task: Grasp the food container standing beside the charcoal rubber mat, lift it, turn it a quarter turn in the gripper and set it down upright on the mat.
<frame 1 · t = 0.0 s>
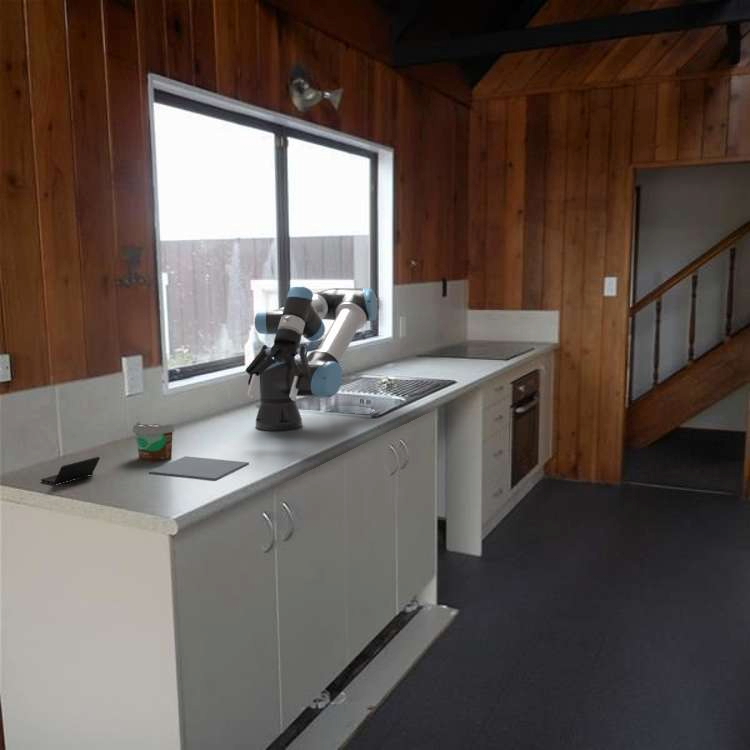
hand: (270, 397, 212), 15 cm above the worktop, tool tilted 35°, fingers open, 13 cm apart
mat: (199, 468, 195), on the worktop
food container: (150, 460, 204), on the worktop
handheld gaming console: (71, 481, 186), on the worktop
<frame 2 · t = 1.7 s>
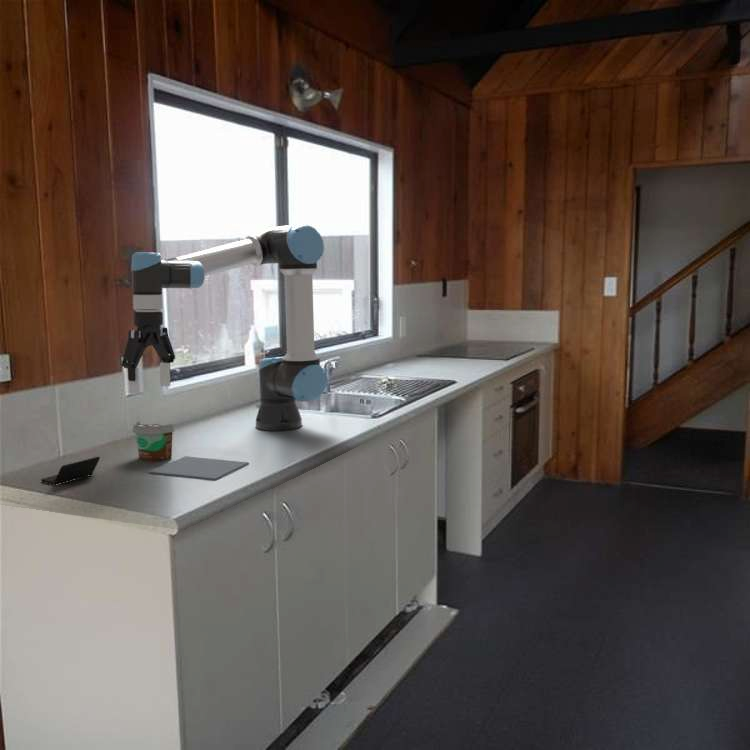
hand: (150, 389, 201), 20 cm above the worktop, tool pointing down, fingers open, 13 cm apart
nothing on the worktop moved.
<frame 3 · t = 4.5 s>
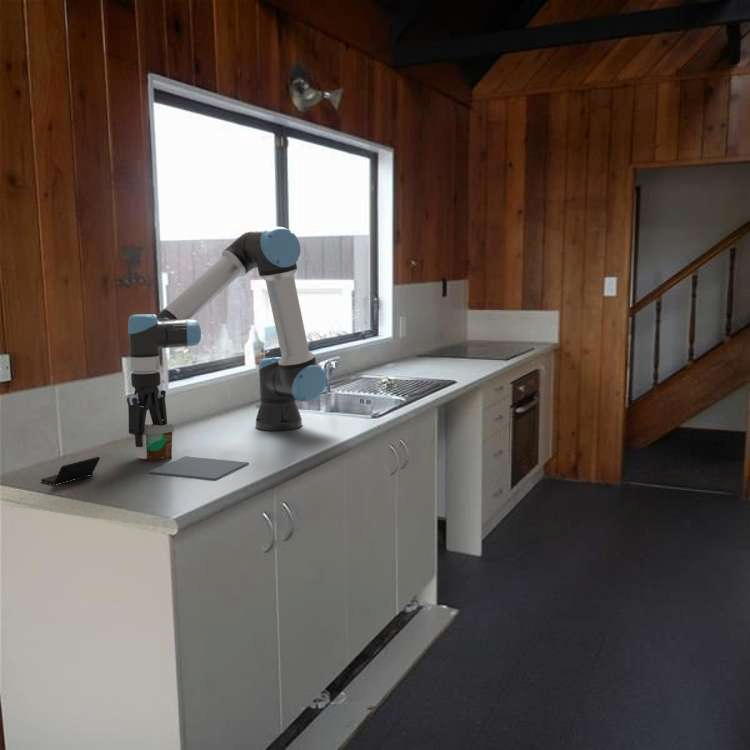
hand: (150, 454, 204), 1 cm above the worktop, tool pointing down, fingers closed on food container, 6 cm apart
food container: (150, 460, 204), on the worktop, touching gripper
everything else where it was.
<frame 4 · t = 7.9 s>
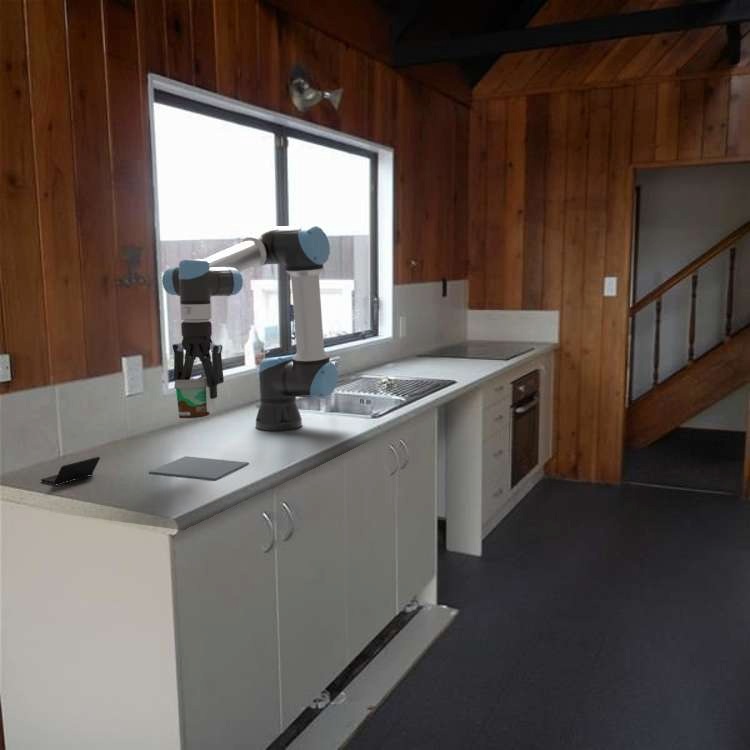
hand: (199, 410, 192), 16 cm above the worktop, tool pointing down, fingers closed on food container, 6 cm apart
food container: (200, 416, 192), point 14 cm above the worktop, touching gripper
everything else where it was.
when the fingers open (2 cm above the worktop, at t = 11.2 s): food container stays where it is, resting on mat.
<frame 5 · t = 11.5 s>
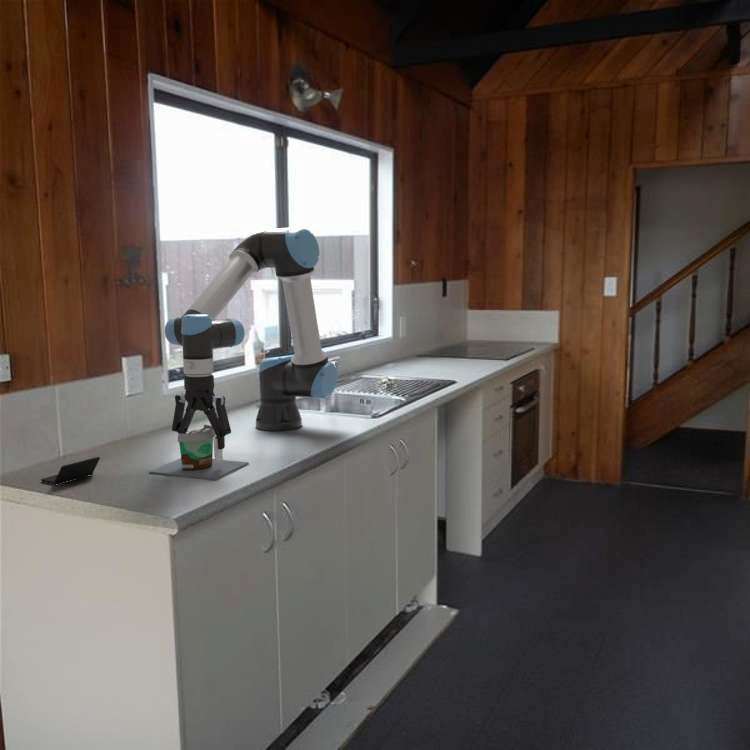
hand: (202, 459, 194), 3 cm above the worktop, tool pointing down, fingers open, 9 cm apart
food container: (203, 467, 194), resting on mat
everything else where it was.
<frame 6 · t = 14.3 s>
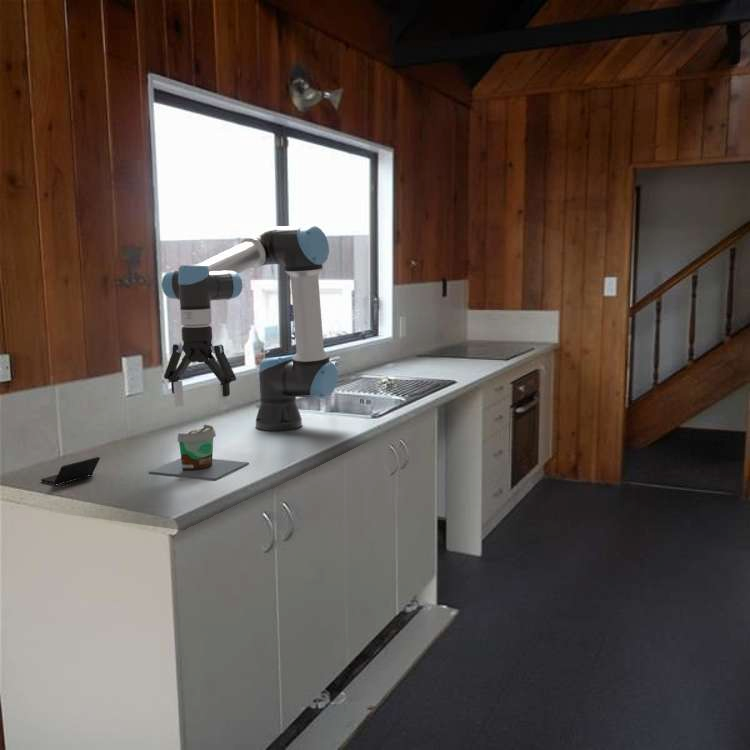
hand: (201, 407, 192), 16 cm above the worktop, tool pointing down, fingers open, 13 cm apart
nothing on the worktop moved.
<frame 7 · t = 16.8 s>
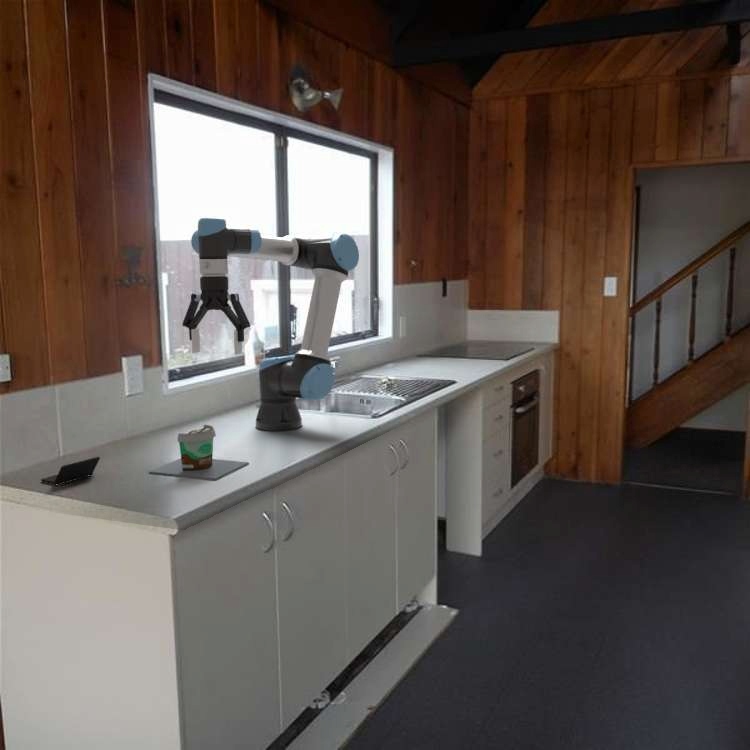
hand: (217, 353, 205), 29 cm above the worktop, tool pointing down, fingers open, 13 cm apart
nothing on the worktop moved.
at the end: food container inside the target area on the mat (0.6 cm from its centre), point 0.3 cm above the mat's base; food container tilted 0°; the gripper is holding nothing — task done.
